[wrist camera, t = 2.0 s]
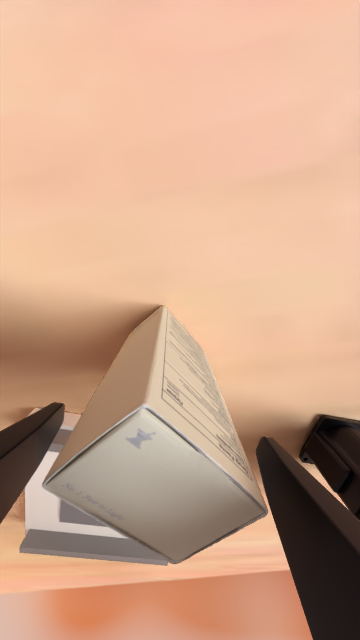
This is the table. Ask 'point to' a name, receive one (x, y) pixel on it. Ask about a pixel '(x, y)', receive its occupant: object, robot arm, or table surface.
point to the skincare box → (159, 449)
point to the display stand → (71, 519)
